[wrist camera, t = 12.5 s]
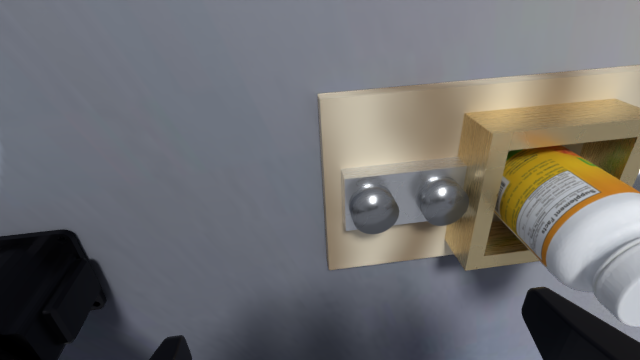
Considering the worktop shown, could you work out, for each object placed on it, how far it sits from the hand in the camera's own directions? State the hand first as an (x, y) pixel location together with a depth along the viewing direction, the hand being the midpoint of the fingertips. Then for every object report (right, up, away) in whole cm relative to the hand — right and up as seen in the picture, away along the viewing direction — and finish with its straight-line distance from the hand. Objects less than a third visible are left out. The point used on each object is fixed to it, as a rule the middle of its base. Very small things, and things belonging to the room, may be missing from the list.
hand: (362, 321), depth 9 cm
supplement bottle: (+11, +4, +13) cm, 18 cm away
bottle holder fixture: (+11, +5, +14) cm, 19 cm away
